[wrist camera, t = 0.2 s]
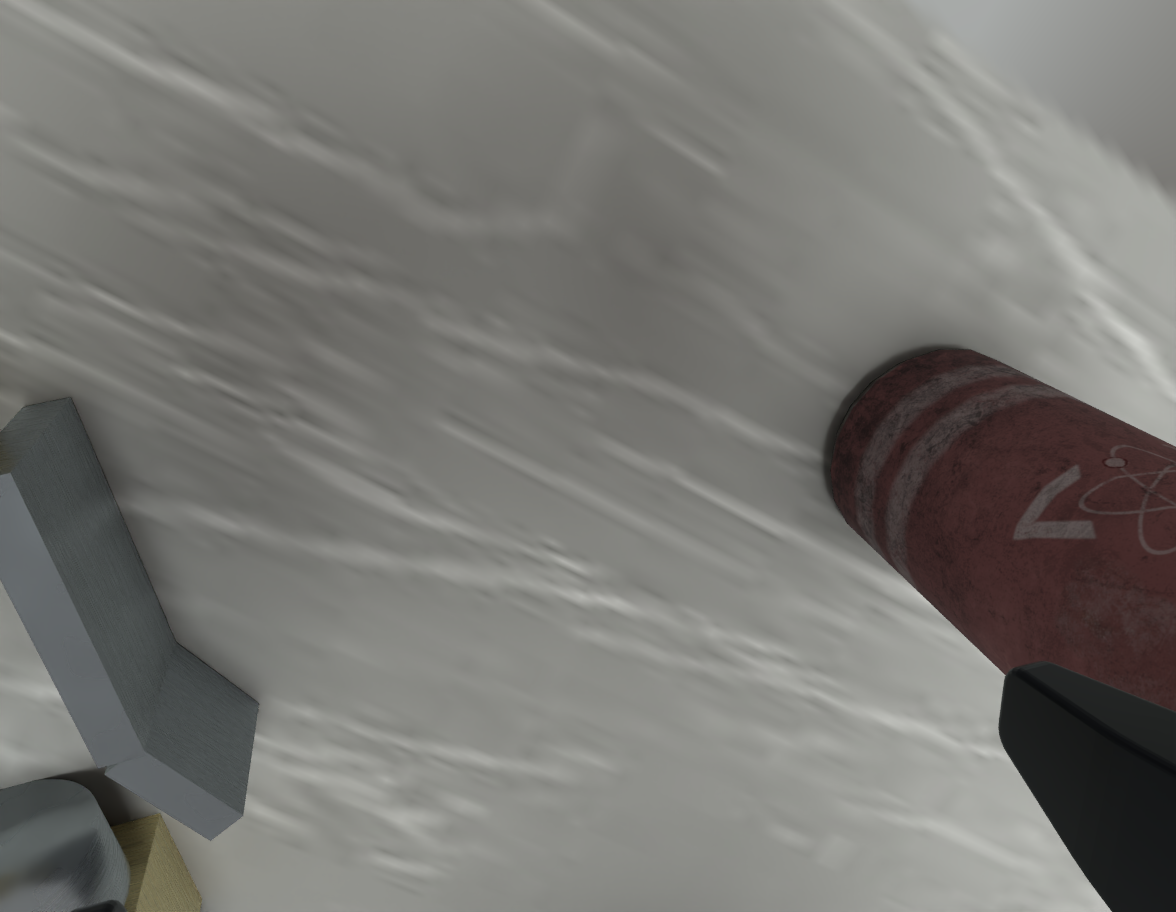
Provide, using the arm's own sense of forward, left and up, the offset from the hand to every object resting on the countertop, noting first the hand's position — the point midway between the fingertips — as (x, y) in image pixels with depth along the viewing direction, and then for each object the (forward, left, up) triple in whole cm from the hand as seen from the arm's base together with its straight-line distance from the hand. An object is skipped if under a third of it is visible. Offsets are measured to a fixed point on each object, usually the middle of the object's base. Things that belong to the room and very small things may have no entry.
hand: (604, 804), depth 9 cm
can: (-6, -12, -15) cm, 20 cm away
